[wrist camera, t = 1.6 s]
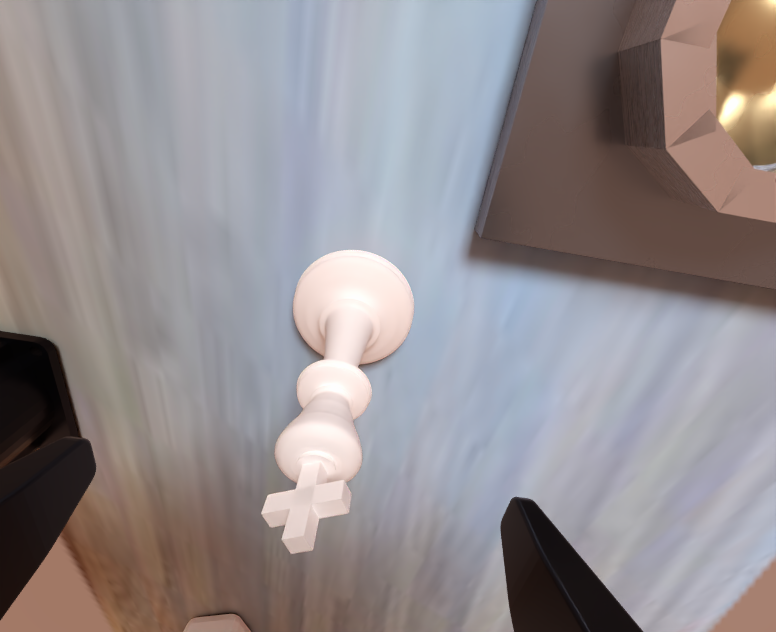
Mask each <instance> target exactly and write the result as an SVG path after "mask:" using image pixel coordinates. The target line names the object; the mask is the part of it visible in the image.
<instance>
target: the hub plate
mask: <svg viewBox="0 0 776 632" xmlns="http://www.w3.org/2000/svg"><path fill="white" fill-rule="evenodd" d="M475 230H476V232H477V233H478V235H479V236H480V238H484V239H490V240H496V241H501V242H507V243H513V244H519V245H524V246H530V247H536V248H542V249H547V250H553V251H559V252H564V253H570V254H576V255H582V256H587V257H593V258H599V259H605V260H610V261H616V262H622V263H628V264H633V265H639V266H645V267H651V268H656V269H662V270H668V271H673V272H679V273H685V274H691V275H696V276H702V277H708V278H714V279H719V280H725V281H731V282H737V283H742V284H748V285H754V286H760V287H765V288H771V289H776V0H537V2H536V6H535V9H534V13H533V17H532V20H531V24H530V28H529V31H528V35H527V39H526V42H525V46H524V50H523V53H522V57H521V61H520V64H519V68H518V72H517V75H516V79H515V83H514V86H513V90H512V94H511V97H510V101H509V105H508V109H507V112H506V116H505V120H504V123H503V127H502V131H501V134H500V138H499V142H498V145H497V149H496V153H495V156H494V160H493V164H492V167H491V171H490V175H489V178H488V182H487V186H486V189H485V193H484V197H483V200H482V204H481V208H480V211H479V215H478V219H477V222H476V226H475Z"/></svg>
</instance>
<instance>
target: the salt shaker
mask: <svg viewBox="0 0 776 632" xmlns="http://www.w3.org/2000/svg"><path fill="white" fill-rule="evenodd" d="M184 632H251V631H250V630H249V628H248V627H247V626H246V624H245V623H244V622H243V621H242V619H241V618H240V617H239V616H237V615H235V614H225V615H215V616H206V617H196V618H193V619H191V620H190V621H189V622H188V624H187V625H186V627H185V629H184Z"/></svg>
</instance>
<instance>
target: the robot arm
mask: <svg viewBox="0 0 776 632" xmlns="http://www.w3.org/2000/svg"><path fill="white" fill-rule="evenodd" d="M37 448H40V449H38V450H36V449H37ZM35 450H36V451H35ZM95 472H96V463H95V459H94V455H93V451H92V446H91V443H90V441H89V440H88V439H85V438H79V436H78V432H77V428H76V425H75V421H74V417H73V413H72V410H71V406H70V402H69V398H68V395H67V391H66V387H65V383H64V380H63V376H62V372H61V368H60V365H59V361H58V357H57V353H56V350H55V347H54V345H53V344H52V343H51V342H50V341H49V340H47V339H45V338H42V337H36V336H30V335H23V334H16V333H10V332H3V331H0V620H1V619H2V617H3V616H4V615H5V613H6V612H7V610H8V609H9V608H10V606H11V605H12V603H13V602H14V600H15V599H16V598H17V596H18V595H19V594H20V592H21V591H22V590H23V588H24V587H25V585H26V584H27V583H28V581H29V580H30V578H31V577H32V576H33V574H34V573H35V571H36V570H37V569H38V567H39V566H40V564H41V563H42V562H43V560H44V559H45V557H46V556H47V554H48V553H49V551H50V550H51V548H52V546H53V545H54V543H55V542H56V540H57V538H58V537H59V535H60V533H61V532H62V530H63V528H64V527H65V525H66V523H67V522H68V520H69V518H70V517H71V515H72V513H73V511H74V510H75V508H76V506H77V505H78V503H79V501H80V500H81V498H82V496H83V495H84V493H85V491H86V490H87V488H88V486H89V485H90V483H91V481H92V479H93V478H94V475H95ZM501 539H502V548H503V557H504V566H505V575H506V583H507V592H508V600H509V608H510V613H511V619H512V624H513V629H514V632H643V631H642V630H641V628H640V627H639V626H638V625H637V624H636V622H635V621H634V620H633V619H632V618H631V616H630V615H629V614H628V613H627V612H626V610H625V609H624V608H623V607H622V606H621V604H620V603H619V602H618V601H617V600H616V598H615V597H614V596H613V595H612V594H611V592H610V591H609V590H608V589H607V588H606V587H605V585H604V584H603V583H602V582H601V581H600V579H599V578H598V577H597V576H596V575H595V573H594V572H593V571H592V570H591V569H590V567H589V566H588V565H587V564H586V563H585V561H584V560H583V559H582V558H581V557H580V555H579V554H578V553H577V552H576V551H575V549H574V548H573V547H572V546H571V545H570V543H569V542H568V541H567V540H566V539H565V537H564V536H563V535H562V534H561V533H560V532H559V530H558V529H557V528H556V527H555V526H554V524H553V523H552V522H551V521H550V520H549V518H548V517H547V516H546V515H545V514H544V512H543V511H542V510H541V509H540V508H539V506H538V505H537V504H536V503H535V502H534V501H533V500H531V499H528V498H521V497H514V498H512V499H511V501H510V503H509V505H508V507H507V509H506V512H505V514H504V516H503V518H502V521H501Z"/></svg>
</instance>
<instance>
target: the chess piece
mask: <svg viewBox="0 0 776 632" xmlns="http://www.w3.org/2000/svg"><path fill="white" fill-rule="evenodd" d="M293 315H294V320H295V323H296V326H297V328H298V331H299V332H300V334H301V336H302V337H303V339H304V340H305V341H306V342H307V344H308V345H309V346H310V347H311V348H313V349H314V350H315V351H316V352H318V353H319V354H321V355H322V356H324V360H321V361H317V362H315V363H313V364H311V365H309V366H308V367H306V368H305V369H304V370H303V371H302V373H301V374H300V376H299V378H298V381H297V397H298V401H299V403H300V405H301V407H302V408H303V411H302V412H301V413H300V415H299V416H298V417H297V418H295V419H294V420H293V421H292V422H291V423H290V424H289V425H288V426H287V427H286V428H285V429H284V431H283V432H282V433H281V435H280V436H279V438H278V440H277V442H276V445H275V459H276V462H277V465H278V466H279V468H280V470H281V471H282V472H283V473H284V474H285V475H286V476H287V477H288V478H289V479H291V480H292V481H294V482H296V483H297V486H296V489H294V490H289V491H284V492H279V493H274V494H269V495H268V496H267V499H266V501H265V504H264V507H263V510H262V513H261V514H262V516H263V517H264V519H265V520H266V522H267V523H268V525H269V526H270V528H271V527H276V526H282V525H285V529H284V532H283V536H282V539H281V540H282V541H283V543H284V544H285V546H286V547H287V549H288V550H289V552H290V553H291V554H294V553H300V552H306V551H312V550H313V547H314V542H315V537H316V532H317V527H318V522H319V519H320V518H326V517H331V516H337V515H342V514H347V513H349V509H350V502H351V492H350V490H349V488H348V486H347V484H346V483H347V482H348V481H350V480H351V479H352V478H353V477H354V476H355V475H356V474H357V473H358V471H359V469H360V467H361V464H362V448H361V443H360V440H359V436H358V434H357V432H356V430H355V426H354V421H353V420H354V419H356V418H358V417H359V416H360V415H361V414H362V413H363V412H364V411H365V409H366V408H367V406H368V404H369V402H370V400H371V395H372V389H371V384H370V382H369V380H368V378H367V376H366V375H365V374H364V373H363V372H362V371H361V370H360V369H359V368H358V366H359V364H367V363H372V362H375V361H378V360H381V359H383V358H385V357H387V356H388V355H390V354H391V353H393V352H394V351H395V350H396V349H397V348H398V347H399V346H400V345H401V344H402V343H403V341H404V340H405V338H406V337H407V335H408V333H409V330H410V328H411V324H412V320H413V315H414V299H413V294H412V291H411V288H410V286H409V284H408V282H407V280H406V278H405V277H404V276H403V274H402V273H401V272H400V271H399V270H398V269H397V268H396V267H395V266H394V265H393V264H392V263H390V262H389V261H387V260H386V259H384V258H382V257H380V256H378V255H376V254H373V253H370V252H366V251H360V250H342V251H337V252H333V253H330V254H327V255H325V256H323V257H321V258H319V259H318V260H316V261H315V262H314V263H312V264H311V265H310V266H309V267H308V268H307V269H306V270H305V272H304V273H303V275H302V276H301V278H300V280H299V282H298V284H297V287H296V291H295V295H294V300H293Z"/></svg>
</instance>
